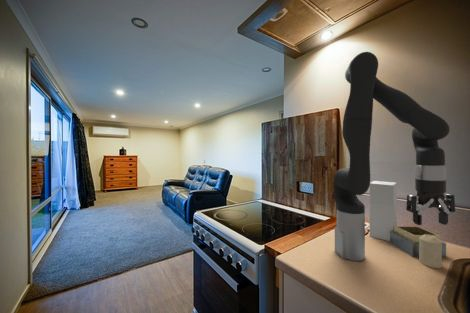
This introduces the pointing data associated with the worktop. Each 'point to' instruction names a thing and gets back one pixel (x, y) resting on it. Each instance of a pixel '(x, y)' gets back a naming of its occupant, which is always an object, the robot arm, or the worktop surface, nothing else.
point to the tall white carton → (383, 209)
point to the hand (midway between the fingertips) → (430, 224)
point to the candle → (430, 251)
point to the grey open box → (411, 239)
